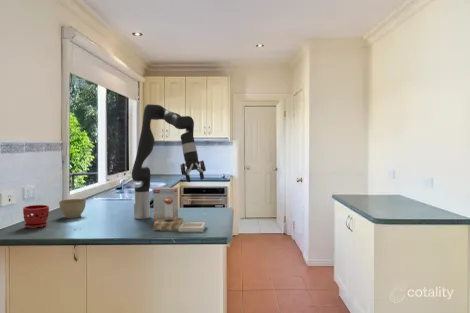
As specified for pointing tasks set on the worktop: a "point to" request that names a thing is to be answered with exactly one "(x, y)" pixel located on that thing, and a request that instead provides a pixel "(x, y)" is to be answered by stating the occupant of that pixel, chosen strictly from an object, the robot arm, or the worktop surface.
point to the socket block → (168, 224)
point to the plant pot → (36, 215)
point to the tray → (192, 227)
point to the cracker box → (160, 204)
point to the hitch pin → (168, 210)
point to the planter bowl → (72, 207)
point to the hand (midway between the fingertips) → (195, 180)
